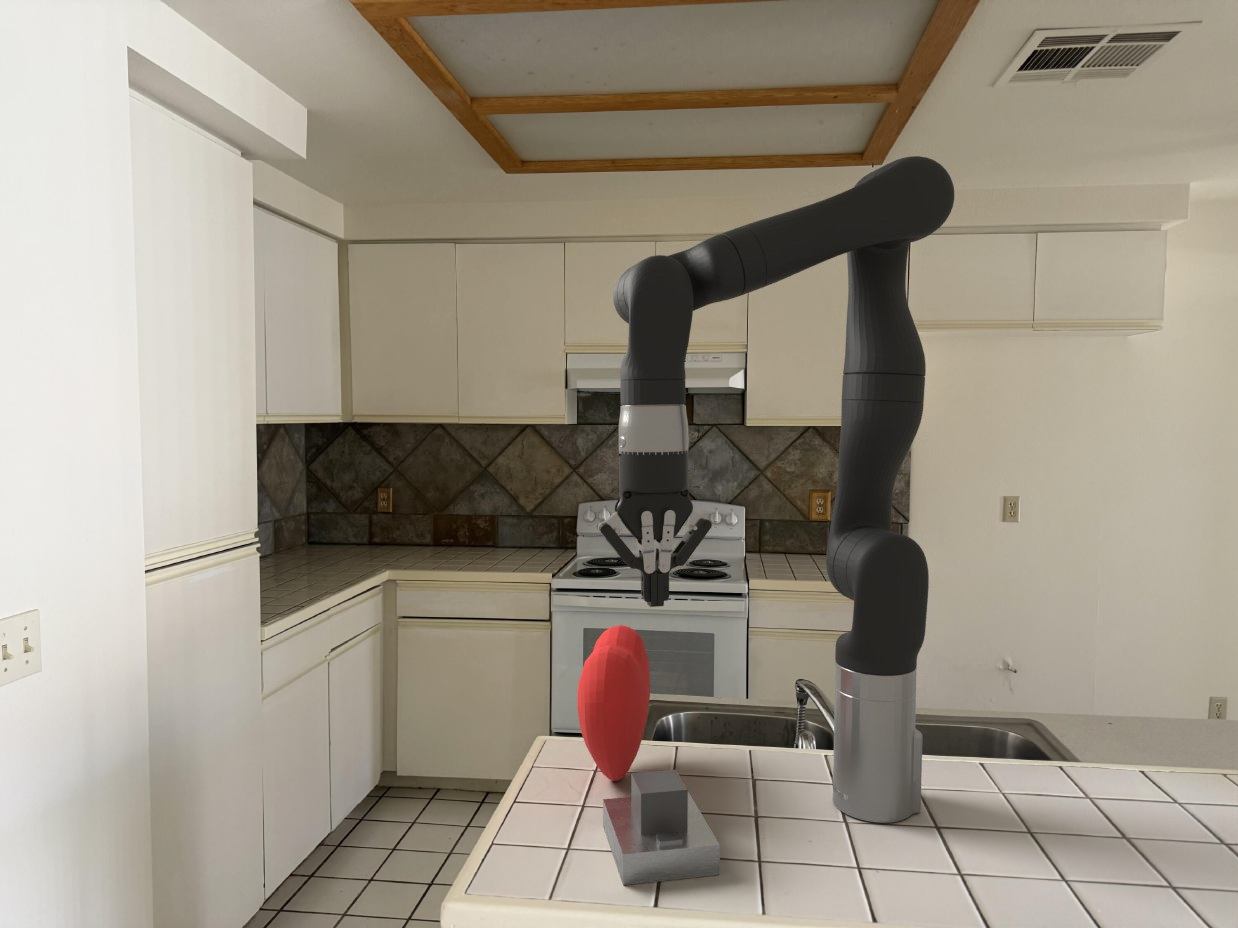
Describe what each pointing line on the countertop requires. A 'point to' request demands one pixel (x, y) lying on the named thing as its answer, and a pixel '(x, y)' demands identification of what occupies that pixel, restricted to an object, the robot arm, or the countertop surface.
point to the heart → (614, 700)
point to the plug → (659, 802)
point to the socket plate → (659, 846)
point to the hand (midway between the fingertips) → (654, 604)
